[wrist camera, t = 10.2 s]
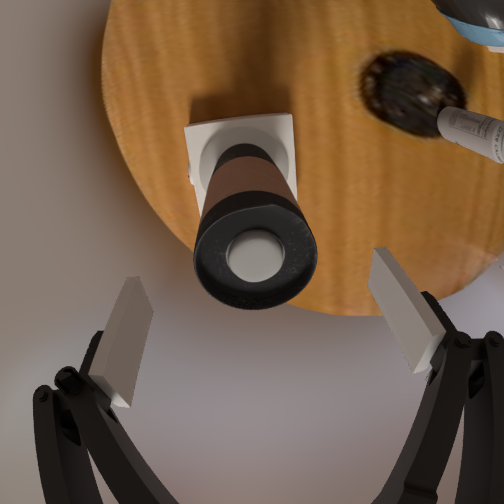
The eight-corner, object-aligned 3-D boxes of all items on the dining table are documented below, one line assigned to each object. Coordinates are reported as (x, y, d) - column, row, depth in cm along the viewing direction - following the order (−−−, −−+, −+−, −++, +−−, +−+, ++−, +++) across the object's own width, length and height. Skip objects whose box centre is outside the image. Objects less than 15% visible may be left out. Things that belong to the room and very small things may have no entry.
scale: (184, 124, 34) (177, 129, 30) (286, 112, 34) (293, 115, 30) (200, 211, 41) (196, 225, 37) (292, 200, 41) (298, 213, 37)
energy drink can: (440, 144, 36) (503, 174, 24) (430, 112, 34) (496, 133, 21) (462, 132, 35) (523, 158, 22) (452, 100, 32) (518, 118, 19)
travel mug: (225, 207, 36) (218, 323, 19) (204, 152, 32) (169, 229, 15) (282, 189, 35) (328, 293, 18) (265, 132, 31) (306, 186, 14)
